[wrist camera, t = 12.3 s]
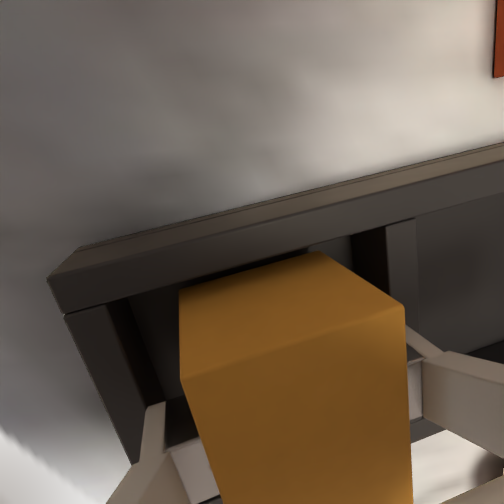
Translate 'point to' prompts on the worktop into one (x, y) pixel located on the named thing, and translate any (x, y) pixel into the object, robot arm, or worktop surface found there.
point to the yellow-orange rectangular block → (298, 384)
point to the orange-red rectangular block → (499, 41)
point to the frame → (288, 246)
